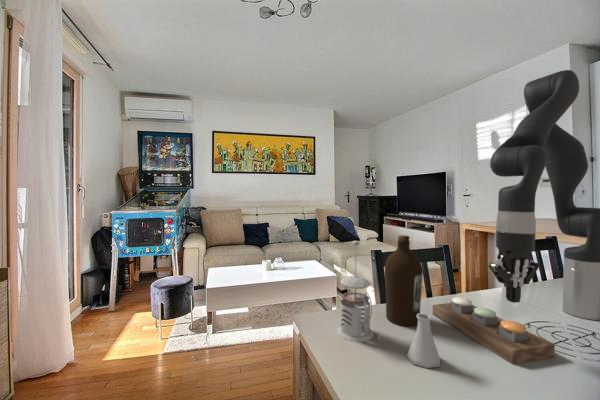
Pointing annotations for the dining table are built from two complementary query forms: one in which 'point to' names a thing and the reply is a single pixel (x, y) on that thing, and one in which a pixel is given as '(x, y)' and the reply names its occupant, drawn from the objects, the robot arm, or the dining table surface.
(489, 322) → the button sage
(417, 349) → the flask
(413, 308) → the olive oil
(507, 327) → the button orange
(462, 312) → the button cream
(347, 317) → the french press
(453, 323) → the console
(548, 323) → the dining table surface
